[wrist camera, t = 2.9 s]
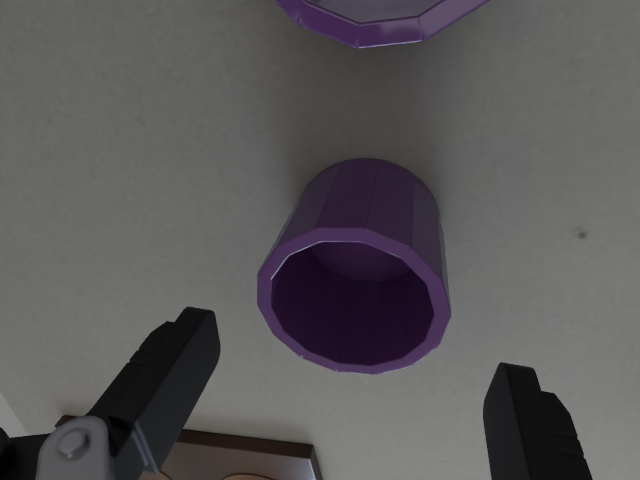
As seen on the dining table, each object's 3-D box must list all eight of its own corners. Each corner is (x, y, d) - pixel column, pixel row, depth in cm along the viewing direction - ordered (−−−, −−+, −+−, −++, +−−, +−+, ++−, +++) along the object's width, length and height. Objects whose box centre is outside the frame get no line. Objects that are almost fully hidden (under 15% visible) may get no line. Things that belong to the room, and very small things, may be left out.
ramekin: (269, 197, 17) (219, 271, 13) (400, 128, 15) (392, 192, 10) (341, 297, 20) (318, 388, 15) (465, 254, 17) (482, 350, 12)
